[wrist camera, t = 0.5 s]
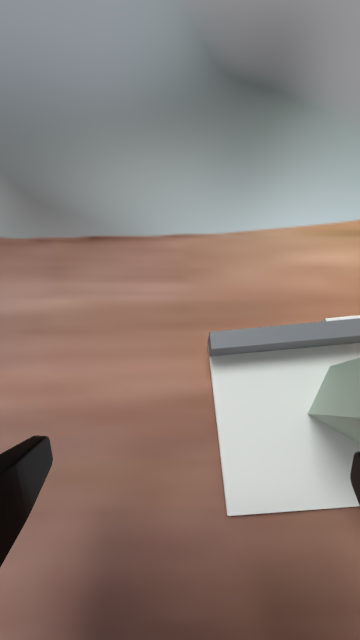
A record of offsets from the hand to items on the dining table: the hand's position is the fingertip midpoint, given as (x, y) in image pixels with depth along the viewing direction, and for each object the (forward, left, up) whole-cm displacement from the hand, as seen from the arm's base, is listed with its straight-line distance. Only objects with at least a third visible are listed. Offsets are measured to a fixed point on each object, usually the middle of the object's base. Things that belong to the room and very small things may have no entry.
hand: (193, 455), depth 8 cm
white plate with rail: (-7, -7, -14) cm, 17 cm away
